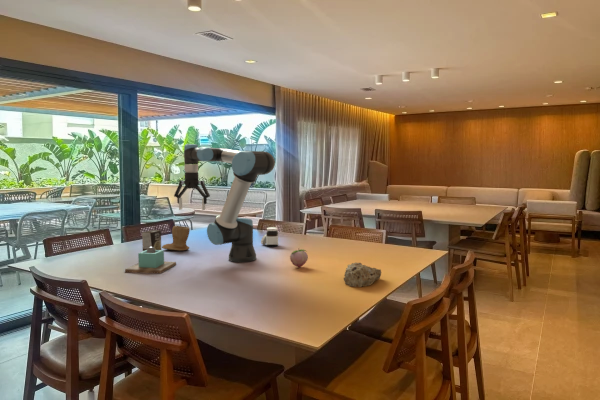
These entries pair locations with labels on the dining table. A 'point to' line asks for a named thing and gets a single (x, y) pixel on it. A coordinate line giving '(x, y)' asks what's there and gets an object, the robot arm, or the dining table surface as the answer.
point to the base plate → (159, 269)
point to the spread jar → (270, 237)
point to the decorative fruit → (299, 257)
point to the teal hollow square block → (151, 259)
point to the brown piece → (178, 239)
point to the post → (151, 250)
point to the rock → (360, 275)
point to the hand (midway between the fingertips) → (192, 209)
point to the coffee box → (151, 239)
